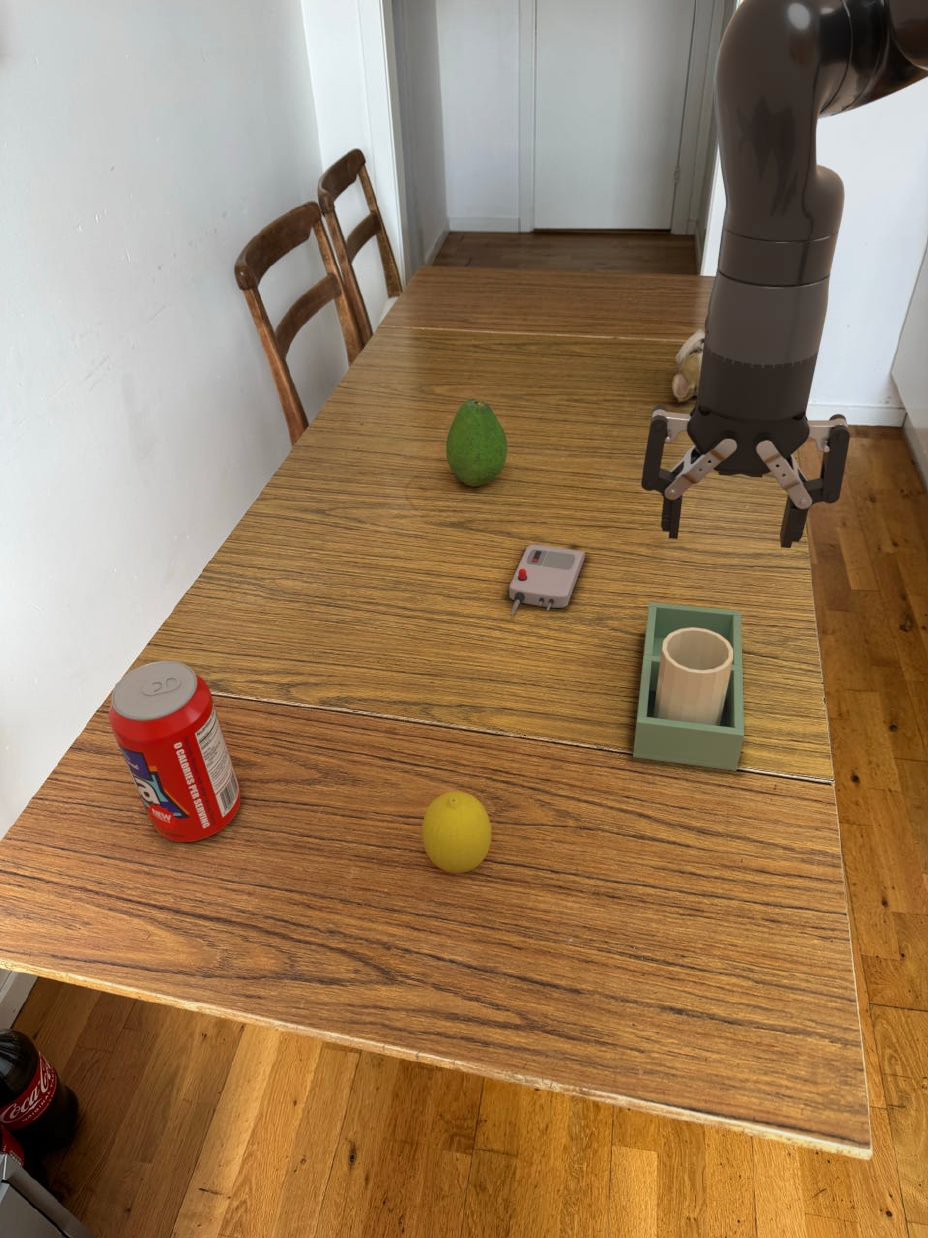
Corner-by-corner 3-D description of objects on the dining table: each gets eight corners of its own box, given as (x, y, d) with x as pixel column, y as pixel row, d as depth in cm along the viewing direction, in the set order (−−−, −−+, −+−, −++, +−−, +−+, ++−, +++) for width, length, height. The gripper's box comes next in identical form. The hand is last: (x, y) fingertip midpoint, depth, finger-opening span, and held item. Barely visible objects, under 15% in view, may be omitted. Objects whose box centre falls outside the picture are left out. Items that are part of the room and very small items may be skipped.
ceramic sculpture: (735, 317, 138) (753, 362, 127) (728, 369, 144) (744, 416, 133) (666, 319, 139) (677, 364, 128) (661, 371, 145) (671, 418, 134)
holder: (736, 771, 79) (744, 735, 76) (632, 757, 81) (636, 721, 78) (734, 645, 92) (741, 610, 89) (645, 635, 94) (649, 601, 91)
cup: (729, 716, 83) (744, 643, 78) (701, 755, 80) (714, 682, 74) (671, 691, 86) (681, 619, 81) (641, 728, 83) (650, 655, 77)
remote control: (587, 549, 107) (589, 528, 105) (558, 630, 95) (559, 608, 94) (534, 541, 109) (534, 521, 107) (498, 620, 97) (498, 598, 95)
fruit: (492, 462, 124) (490, 381, 117) (517, 488, 119) (517, 405, 111) (439, 475, 122) (433, 394, 114) (462, 503, 116) (458, 418, 109)
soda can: (250, 831, 76) (212, 706, 67) (157, 860, 74) (104, 736, 65) (235, 767, 82) (198, 644, 73) (148, 792, 80) (98, 669, 71)
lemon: (451, 825, 76) (446, 762, 71) (505, 855, 73) (504, 792, 68) (411, 871, 73) (403, 808, 68) (467, 904, 70) (462, 841, 65)
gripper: (651, 355, 59) (634, 557, 69) (882, 364, 56) (828, 573, 66) (657, 314, 64) (640, 506, 75) (866, 320, 62) (819, 519, 72)
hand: (728, 538), depth 70 cm, fingers open, 8 cm apart
